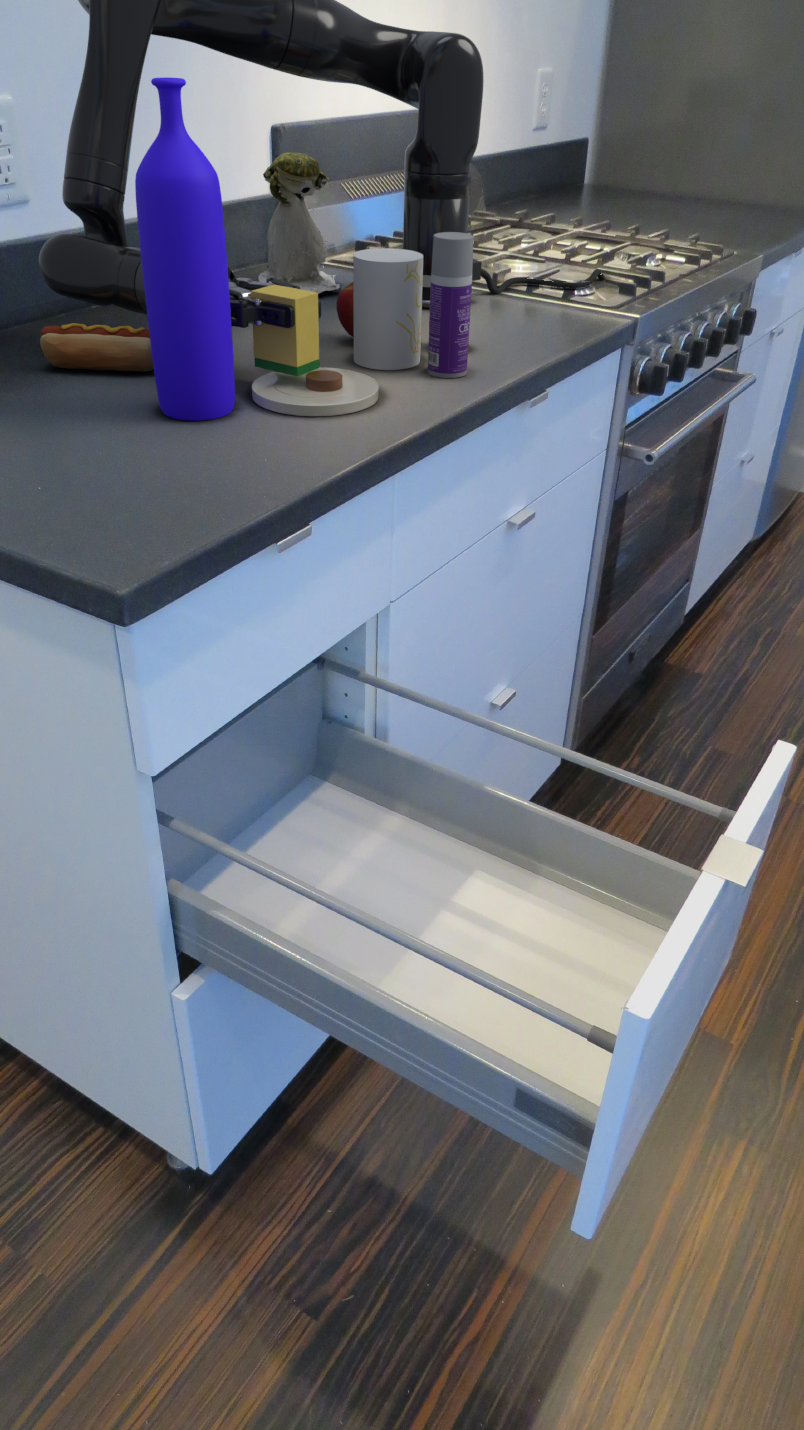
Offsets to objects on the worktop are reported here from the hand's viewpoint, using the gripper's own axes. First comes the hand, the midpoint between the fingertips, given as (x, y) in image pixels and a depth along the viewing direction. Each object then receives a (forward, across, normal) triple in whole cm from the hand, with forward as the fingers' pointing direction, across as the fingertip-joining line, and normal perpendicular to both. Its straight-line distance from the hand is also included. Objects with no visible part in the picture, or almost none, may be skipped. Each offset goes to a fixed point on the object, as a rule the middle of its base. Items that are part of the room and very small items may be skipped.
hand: (305, 313), depth 110 cm
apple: (-7, +22, +9) cm, 25 cm away
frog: (-32, +41, +9) cm, 52 cm away
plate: (+1, 0, +9) cm, 9 cm away
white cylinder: (0, +16, +9) cm, 19 cm away
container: (+8, +17, +9) cm, 20 cm away
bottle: (-6, -11, +9) cm, 16 cm away
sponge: (-3, 0, +6) cm, 7 cm away
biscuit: (+2, 0, +7) cm, 8 cm away
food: (-25, -7, +9) cm, 27 cm away
